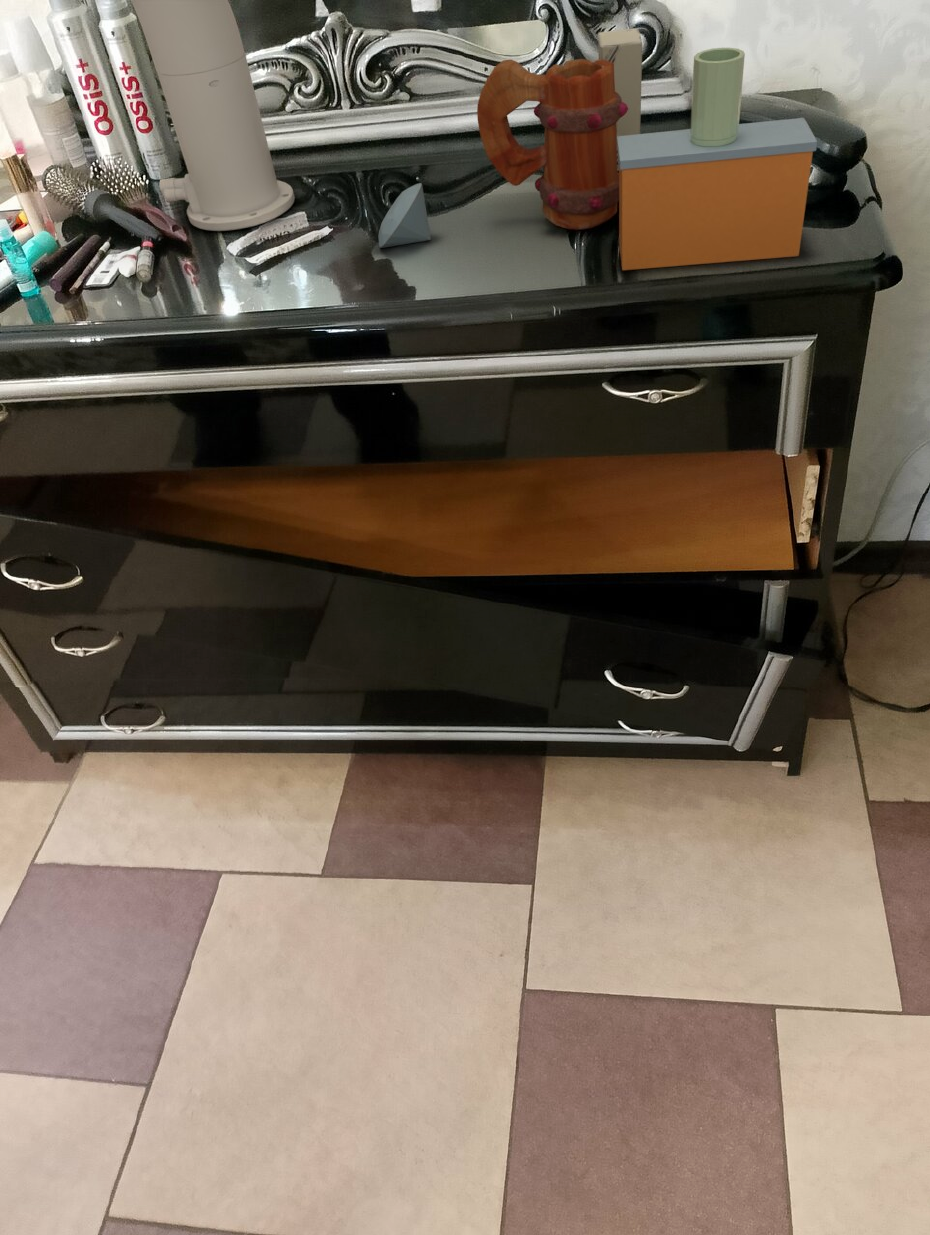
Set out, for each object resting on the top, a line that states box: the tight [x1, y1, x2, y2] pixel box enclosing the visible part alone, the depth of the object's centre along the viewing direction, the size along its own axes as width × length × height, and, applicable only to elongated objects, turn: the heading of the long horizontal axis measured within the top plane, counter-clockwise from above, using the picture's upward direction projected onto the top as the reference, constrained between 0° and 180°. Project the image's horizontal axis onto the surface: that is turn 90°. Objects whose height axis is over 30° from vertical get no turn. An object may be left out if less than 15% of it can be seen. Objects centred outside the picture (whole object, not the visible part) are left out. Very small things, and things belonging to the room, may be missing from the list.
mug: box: [476, 58, 628, 231], centre depth 92 cm, size 15×8×15 cm, turn 74°
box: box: [597, 27, 643, 172], centre depth 102 cm, size 5×4×13 cm
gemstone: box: [377, 182, 432, 249], centre depth 97 cm, size 8×8×5 cm
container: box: [617, 117, 818, 271], centre depth 85 cm, size 16×6×10 cm, turn 86°
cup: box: [689, 47, 746, 147], centre depth 79 cm, size 4×4×6 cm
